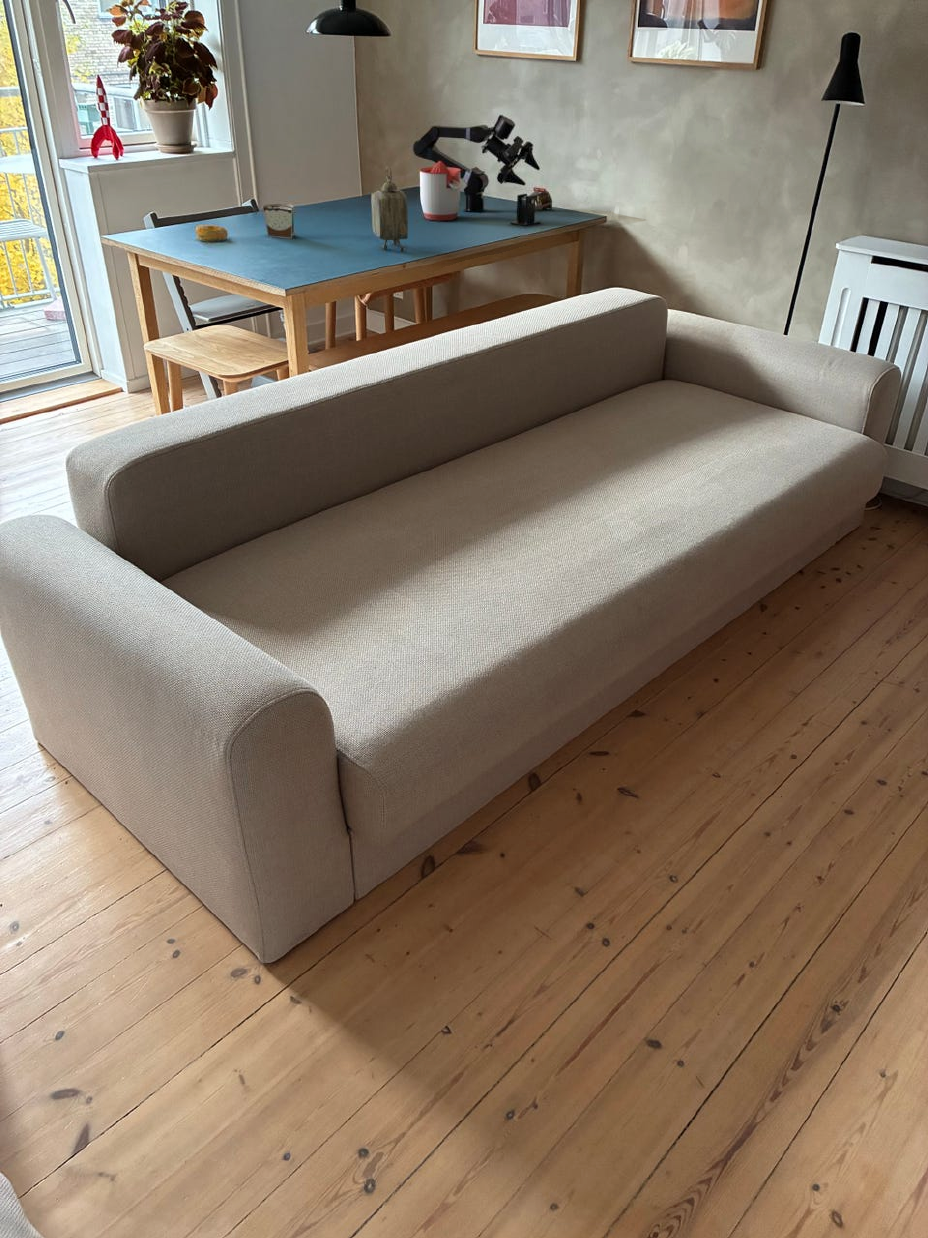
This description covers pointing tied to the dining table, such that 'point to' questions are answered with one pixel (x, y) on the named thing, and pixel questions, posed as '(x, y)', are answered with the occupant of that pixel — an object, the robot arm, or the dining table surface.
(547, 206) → the mechanical counter
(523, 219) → the bracket
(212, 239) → the bagel
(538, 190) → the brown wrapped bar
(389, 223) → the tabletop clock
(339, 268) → the dining table surface
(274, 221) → the food container
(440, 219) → the citrus juicer
